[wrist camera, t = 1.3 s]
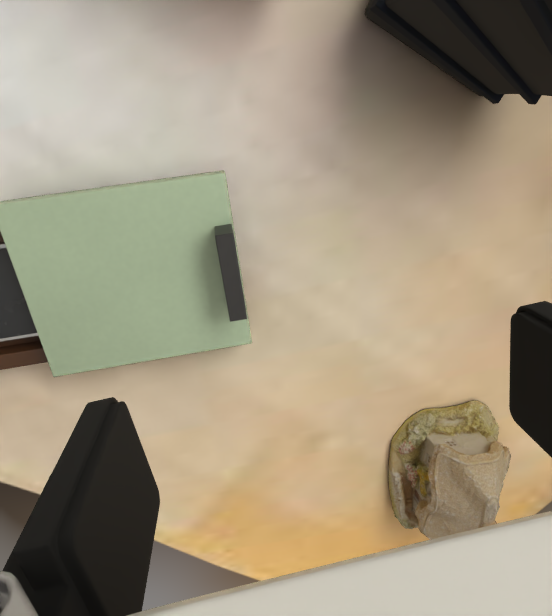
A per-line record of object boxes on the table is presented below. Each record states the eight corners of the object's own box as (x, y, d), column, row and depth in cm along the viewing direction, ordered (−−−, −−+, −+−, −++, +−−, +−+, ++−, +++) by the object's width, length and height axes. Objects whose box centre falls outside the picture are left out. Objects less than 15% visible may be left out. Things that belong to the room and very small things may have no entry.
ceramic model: (399, 398, 42) (451, 473, 33) (506, 399, 44) (583, 470, 35) (373, 511, 47) (412, 603, 38) (470, 507, 49) (529, 595, 40)
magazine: (355, -81, 27) (616, -129, 16) (457, 45, 35) (671, 68, 25) (324, -16, 28) (551, -20, 17) (431, 92, 36) (626, 133, 26)
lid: (60, 365, 35) (39, 400, 30) (2, 200, 30) (-34, 213, 26) (250, 333, 36) (255, 362, 32) (224, 170, 31) (226, 177, 27)
